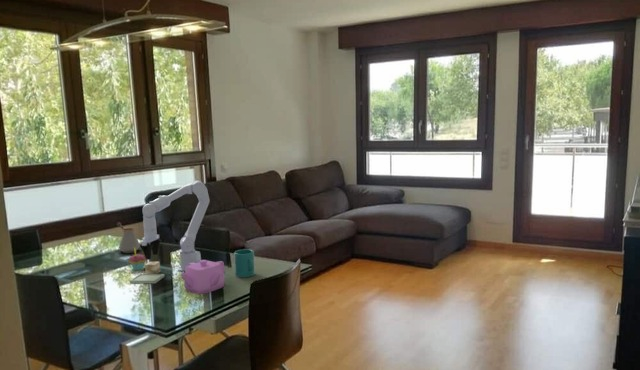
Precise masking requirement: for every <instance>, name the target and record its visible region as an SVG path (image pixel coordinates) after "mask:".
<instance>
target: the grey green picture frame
mask: <svg viewBox="0 0 640 370" xmlns="http://www.w3.org/2000/svg"><path fill="white" fill-rule="evenodd" d="M165 277H166V275H165V273H158V274H146V273H140V274H139V273H138V275H136V276H135V277H133V278H131V279H130V280H129V283H130V284H157V283H158V282H159V281H161V280H162V279H163V278H165Z"/></svg>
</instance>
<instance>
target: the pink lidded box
mask: <svg viewBox="0 0 640 370" xmlns="http://www.w3.org/2000/svg"><path fill="white" fill-rule="evenodd" d="M225 273H226V270H225V263H224V261H222V260H219V261H211V260H207V259H201V261H199V263H189V266H187V267H186V269H185V271H184V272H182V273H180V277H181V278H182V280H183V285H184V289H185V291H187V292H189V291H190V293H192V294H196V295H200V296H201V295H204V294H205V295H206V294H208V293H211V292H214V291H215V292H216V290H217V291H218V290H219V289H221V288H224V285H225V275H224V274H225Z"/></svg>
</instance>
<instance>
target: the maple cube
mask: <svg viewBox="0 0 640 370" xmlns="http://www.w3.org/2000/svg"><path fill="white" fill-rule="evenodd" d="M144 268H145V270H144V271H145V274H160V272H161V262H160V261H148V262H147V263H145V264H144Z"/></svg>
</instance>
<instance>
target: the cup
mask: <svg viewBox="0 0 640 370" xmlns="http://www.w3.org/2000/svg"><path fill="white" fill-rule="evenodd" d="M233 255H234V257H233V258H234V271H235V272H234V274H235V276H236V277H237V278H242V279H244V278H251V277H253V276H254V275H256V270H255V269H256V268H255V267H256V266H255V252H254V250H253V249H245V248H243V249H238V250H235V251H234V252H233Z"/></svg>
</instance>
